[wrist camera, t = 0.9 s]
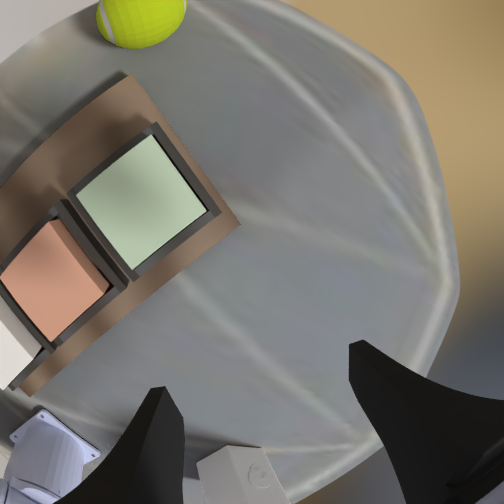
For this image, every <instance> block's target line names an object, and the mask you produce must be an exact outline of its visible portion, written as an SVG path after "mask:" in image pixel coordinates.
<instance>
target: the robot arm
mask: <svg viewBox="0 0 504 504" xmlns="http://www.w3.org/2000/svg"><path fill="white" fill-rule="evenodd" d="M349 381H350V384H351V386H352V389H353V391H354V393H355V396H356V398H357V400H358V402H359V403H360V405H361V407H362V409H363V410H364V412H365V414H366V415H367V417H368V419H369V420H370V422H371V424H372V425H373V427H374V429H375V430H376V432H377V434H378V435H379V437H380V439H381V441H382V442H383V444H384V446H385V448H386V451H387V453H388V455H389V458H390V460H391V462H392V465H393V467H394V470H395V472H396V475H397V477H398V480H399V483H400V486H401V489H402V492H403V495H404V498H405V501H406V504H504V400H496V399H490V398H484V397H479V396H474V395H470V394H467V393H463V392H460V391H457V390H453V389H451V388H448V387H445V386H443V385H440V384H438V383H435V382H433V381H431V380H429V379H427V378H425V377H423V376H421V375H419V374H417V373H415V372H413V371H411V370H410V369H408V368H406V367H405V366H403V365H401V364H400V363H398V362H396V361H395V360H393V359H392V358H390V357H389V356H387V355H386V354H384V353H383V352H381V351H380V350H378V349H377V348H375V347H374V346H372V345H371V344H369V343H368V342H366V341H365V340H360V341H357V342H354V343H351V344H349ZM42 415H43V416H42ZM10 439H11V440H12V441H13V442H14V443H15V445H14V448H13V450H12V453H11V456H10V458H9V461H8V464H7V467H6V470H5V473H4V479H2V478H1V479H0V504H183V493H182V481H183V461H184V443H185V437H184V423H183V417H182V415H181V413H180V412H179V410H178V408H177V406H176V405H175V403H174V401H173V399H172V398H171V396H170V394H169V392H168V391H167V389H166V387H165V386H164V387H156V388H151V389H150V391H149V392H148V394H147V395H146V397H145V399H144V401H143V402H142V404H141V406H140V407H139V409H138V411H137V412H136V414H135V416H134V417H133V419H132V421H131V422H130V424H129V426H128V427H127V429H126V430H125V432H124V433H123V435H122V436H121V438H120V439H119V441H118V442H117V443H116V445H115V446H114V448H113V449H112V450H111V452H110V453H109V454H108V456H107V457H106V458H105V459H104V460H103V461H102V463H101V464H100V465H99V466H98V467H97V468H96V469H95V470H94V471H93V472H92V473H91V474H90V475H89V476H88V477H87V478H86V479H85V480H84V481H83V482H82V483H81V477H82V470H83V465H84V464H86V463H88V462H89V461H91V460H93V459H95V458H97V457H99V456H100V451H99V450H97V449H96V448H94V447H93V446H91V445H90V444H89V443H87V442H86V441H84V440H83V439H82V438H80V437H79V436H78V435H76V434H75V433H74V432H72V431H71V430H70V429H69V428H67V427H66V426H65V425H64V424H62V423H61V422H60V421H59V420H57V419H56V418H55V417H54V416H53V415H52V414H50V413H49V412H48V411H47V410H45V409H41V410H40V411H39V412H38V413H36V414H35V415H34V416H33V417H32V418H30V419H29V420H28V421H27V422H25V423H24V424H23V425H22V426H20V427H19V428H18V429H17V430H16V431H14V432H13V433H12V434H11V435H10Z"/></svg>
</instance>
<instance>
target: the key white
mask: <svg viewBox="0 0 504 504" xmlns="http://www.w3.org/2000/svg"><path fill="white" fill-rule="evenodd" d="M41 347H42V346H41V344H40V343H39V342H38V341H37V340H36V339H35V338H34V337H33V335H32V334H31V333H30V332H29V331H28V330H27V328H26V327H25V326H24V325H23V324H22V322H21V321H20V320H19V319H18V318H17V316H16V315H15V314H14V312H13V311H12V310H11V309H10V307H9V306H8V305H7V303H6V302H5V301H4V299H3V298H2V297H1V295H0V388H1V389H2V390H4V389H5V388H6V386H7V385H8V384H9V383H10V382H11V381H12V380H13V379H14V378H15V377H16V376H17V375H18V374H19V373H20V372H21V371H22V370H23V369H24V368H25V367H26V366H27V365H28V364H29V363H30V362H31V361H32V360H33V359H34V358H35V356H36V354H37V353H38V351H39V350H40V348H41Z"/></svg>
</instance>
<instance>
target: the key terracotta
mask: <svg viewBox="0 0 504 504" xmlns="http://www.w3.org/2000/svg"><path fill="white" fill-rule="evenodd" d="M0 279H1V281H2V282H3V283H4V285H5V286H6V288H7V289H8V290H9V292H10V293H11V294H12V296H13V297H14V298H15V300H16V301H17V302H18V304H19V305H20V306H21V308H22V309H23V310H24V311H25V313H26V314H27V315H28V316H29V318H30V319H31V320H32V321H33V322H34V324H35V325H36V326H37V327H38V328H39V329H40V331H41V332H42V333H43V334H44V335H45V336H46V337H47V338H48V340H49V341H50V342H52V341H53V340H54V339H55V338H56V337H57V336H58V335H59V334H60V333H61V332H62V331H63V330H64V329H65V328H67V327H68V326H69V325H70V324H71V323H72V322H73V321H74V320H75V319H76V318H77V317H79V316H80V315H81V314H82V313H83V312H84V311H85V310H86V309H87V308H89V307H90V306H91V305H92V304H93V303H94V302H95V301H97V300H98V299H99V298H100V297H101V296H102V295H103V294H104V293H105V291H106V289H107V288H108V286H109V284H108V282H107V281H106V280H105V279H104V277H103V276H102V275H101V274H100V273H99V271H98V270H97V269H96V268H95V266H94V265H93V264H92V263H91V261H90V260H89V259H88V257H87V256H86V255H85V254H84V252H83V251H82V250H81V248H80V247H79V246H78V244H77V243H76V242H75V240H74V239H73V238H72V236H71V235H70V233H69V232H68V231H67V229H66V228H65V226H64V225H63V224H62V222H61V221H60V219H57V220H53V221H49V222H48V223H47V224H46V225H45V226H44V227H43V228H42V229H41V230H40V231H39V232H38V233H37V234H36V235H35V236H34V237H33V238H32V240H31V241H30V242H29V243H28V244H27V245H26V246H25V247H24V248H23V250H22V251H21V252H20V253H19V254H18V255H17V256H16V258H15V259H14V260H13V261H12V262H11V263H10V265H9V266H8V267H7V268H6V270H5V271H4V272H3V273H2V275H1V276H0Z"/></svg>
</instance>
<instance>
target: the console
mask: <svg viewBox="0 0 504 504" xmlns="http://www.w3.org/2000/svg"><path fill="white" fill-rule="evenodd" d="M150 135H152V136H153V138H154V139H155V140H156V142H157V143H158V145H159V146H160V147H161V149H162V150H163V151H164V153H165V154H166V156H167V157H168V158H169V160H170V161H171V163H172V164H173V165H174V167H175V168H176V170H177V171H178V172H179V174H180V175H181V176H182V178H183V179H184V181H185V182H186V183H187V185H188V186H189V187H190V189H191V190H192V192H193V193H194V194H195V196H196V197H197V198H198V200H199V201H200V203H201V204H202V205H203V207H204V208H205V209H206V212H205V213H203V214H202V215H201V216H199V217H198V218H197V219H195V220H194V221H193V222H192V223H190V224H189V225H188V226H186V227H185V228H184V229H182V230H181V231H180V232H179V233H177V234H176V235H175V236H174V237H172V238H171V239H170V240H168V241H167V242H166V243H165V244H163V245H162V246H161V247H160V248H158V249H157V250H156V251H155V252H153V253H152V254H151V255H150V256H149V257H147V258H146V259H145V260H144V261H142V262H141V263H140V264H139V265H138V266H136V267H135V268H134V269H133V270H132V269H131V268H130V267H129V266H128V264H127V263H126V262H125V261H124V259H123V258H122V257H121V256H120V254H119V253H118V252H117V251H116V249H115V248H114V247H113V245H112V244H111V243H110V242H109V240H108V239H107V238H106V236H105V235H104V234H103V232H102V231H101V230H100V228H99V227H98V226H97V224H96V223H95V221H94V220H93V219H92V217H91V216H90V215H89V213H88V212H87V210H86V209H85V208H84V206H83V205H82V203H81V202H80V200H79V199H78V198H77V196H76V195H77V194H78V193H79V192H80V191H81V190H82V189H83V188H85V187H86V186H87V185H88V184H89V183H90V182H91V181H93V180H94V179H95V178H96V177H97V176H98V175H100V174H101V173H102V172H103V171H104V170H106V169H107V168H108V167H109V166H111V165H112V164H113V163H114V162H116V161H117V160H118V159H119V158H121V157H122V156H123V155H124V154H126V153H127V152H128V151H130V150H131V149H132V148H134V147H135V146H136V145H138V144H139V143H140V142H142V141H143V140H144V139H146V138H147V137H149V136H150ZM57 219H60V221H61V222H62V224H63V225H64V226H65V228H66V229H67V231H68V232H69V233H70V235H71V236H72V238H73V239H74V240H75V242H76V243H77V244H78V246H79V247H80V248H81V250H82V251H83V252H84V254H85V255H86V256H87V257H88V259H89V260H90V261H91V263H92V264H93V265H94V266H95V268H96V269H97V270H98V271H99V273H100V274H101V275H102V276H103V277H104V279H105V280H106V281H107V282H108V284H109V286H108V288H107V289H106V291H105V293H104V294H103V295H102V296H101V297H100V298H99V299H98V300H97V301H95V302H94V303H93V304H92V305H91V306H90V307H89V308H87V309H86V310H85V311H84V312H83V313H82V314H81V315H80V316H79V317H77V318H76V319H75V320H74V321H73V322H72V323H71V324H70V325H69V326H68V327H67V328H65V329H64V330H63V331H62V332H61V333H60V334H59V335H58V336H57V337H56V338H55V339H54V340H53V341H52V342H50V341H49V340H48V338H47V337H46V336H45V335H44V334H43V333H42V332H41V331H40V329H39V328H38V327H37V326H36V325H35V324H34V322H33V321H32V320H31V319H30V318H29V316H28V315H27V314H26V313H25V311H24V310H23V309H22V308H21V306H20V305H19V304H18V302H17V301H16V300H15V298H14V297H13V296H12V294H11V293H10V292H9V290H8V289H7V288H6V286H5V285H4V283H3V282H2V281H1V279H0V295H1V297H2V298H3V299H4V301H5V302H6V303H7V305H8V306H9V307H10V309H11V310H12V311H13V312H14V314H15V315H16V316H17V318H18V319H19V320H20V321H21V322H22V324H23V325H24V326H25V327H26V328H27V330H28V331H29V332H30V333H31V334H32V335H33V337H34V338H35V339H36V340H37V341H38V342H39V343H40V344H41V346H42V347H41V348H40V350H39V351H38V353H37V354H36V356H35V358H34V359H33V360H32V361H31V362H30V363H29V364H28V365H27V366H26V367H25V368H24V369H23V370H22V371H21V372H20V373H19V374H18V375H17V376H16V377H15V378H14V379H13V380H12V381H11V382H10V383H9V384H8V385H7V386H8V387H9V388H10V389H11V390H12V391H14V390H15V389H16V388H17V387H18V386H19V387H20V388H21V389H22V390H23V391H24V392H25V393H26V394H27V395H28V396H29V397H31V396H32V395H33V394H34V393H35V392H36V391H37V390H39V389H40V388H41V387H42V386H43V385H44V384H45V383H47V382H48V381H49V380H50V379H51V378H52V377H53V376H55V375H56V374H57V373H58V372H59V371H60V370H61V369H63V368H64V367H65V366H66V365H67V364H68V363H70V362H71V361H72V360H73V359H74V358H75V357H77V356H78V355H79V354H80V353H81V352H82V351H84V350H85V349H86V348H87V347H88V346H90V345H91V344H92V343H93V342H94V341H95V340H97V339H98V338H99V337H100V336H101V335H103V334H104V333H105V332H106V331H107V330H109V329H110V328H111V327H112V326H113V325H115V324H116V323H117V322H118V321H119V320H121V319H122V318H123V317H124V316H126V315H127V314H128V313H129V312H130V311H132V310H133V309H134V308H135V307H137V306H138V305H139V304H140V303H141V302H143V301H144V300H145V299H146V298H148V297H149V296H150V295H151V294H153V293H154V292H155V291H156V290H158V289H159V288H160V287H161V286H163V285H164V284H165V283H166V282H168V281H169V280H170V279H171V278H173V277H174V276H175V275H176V274H178V273H179V272H180V271H181V270H183V269H184V268H185V267H187V266H188V265H189V264H190V263H192V262H193V261H194V260H195V259H197V258H198V257H199V256H201V255H202V254H203V253H204V252H206V251H207V250H208V249H210V248H211V247H212V246H213V245H215V244H216V243H217V242H219V241H220V240H221V239H222V238H224V237H225V236H226V235H228V234H229V233H230V232H232V231H233V230H234V229H236V228H237V227H238V226H239V225H241V224H240V222H239V221H238V220H237V218H236V217H235V215H234V214H233V213H232V211H231V210H230V208H229V207H228V206H227V204H226V203H225V201H224V200H223V199H222V197H221V196H220V194H219V193H218V192H217V190H216V189H215V187H214V186H213V185H212V183H211V182H210V180H209V179H208V178H207V176H206V175H205V173H204V172H203V171H202V169H201V168H200V166H199V165H198V164H197V162H196V161H195V159H194V158H193V157H192V155H191V154H190V152H189V151H188V150H187V148H186V147H185V146H184V144H183V143H182V141H181V140H180V139H179V137H178V136H177V134H176V133H175V132H174V130H173V129H172V127H171V126H170V125H169V123H168V122H167V121H166V119H165V118H164V116H163V115H162V114H161V112H160V111H159V109H158V108H157V107H156V105H155V104H154V103H153V101H152V100H151V98H150V97H149V96H148V94H147V93H146V92H145V90H144V89H143V87H142V86H141V85H140V83H139V82H138V81H137V79H136V78H135V76H134V75H133V74H130V75H129V76H127V77H126V78H124V79H123V80H121V81H120V82H118V83H117V84H115V85H114V86H112V87H111V88H109V89H108V90H107V91H105V92H104V93H102V94H101V95H100V96H98V97H97V98H96V99H94V100H93V101H92V102H90V103H89V104H88V105H86V106H85V107H84V108H83V109H81V110H80V111H79V112H78V113H76V114H75V115H74V116H73V117H72V118H70V119H69V120H68V121H67V122H66V123H64V124H63V125H62V126H61V127H60V128H59V129H58V130H56V131H55V132H54V133H53V134H52V135H51V136H50V137H49V138H48V139H47V140H46V141H44V142H43V143H42V144H41V145H40V146H39V147H38V148H37V149H36V150H35V151H34V152H33V153H32V154H31V155H30V156H29V157H28V158H27V159H26V160H25V161H24V162H23V163H22V164H21V165H20V167H19V168H18V169H17V170H16V171H15V172H14V173H13V174H12V175H11V176H10V178H9V179H8V180H7V181H6V182H5V183H4V184H3V186H2V187H1V188H0V276H1V275H2V273H3V272H4V271H5V270H6V268H7V267H8V266H9V265H10V263H11V262H12V261H13V260H14V259H15V258H16V256H17V255H18V254H19V253H20V252H21V251H22V250H23V248H24V247H25V246H26V245H27V244H28V243H29V242H30V241H31V240H32V238H33V237H34V236H35V235H36V234H37V233H38V232H39V231H40V230H41V229H42V228H43V227H44V226H45V225H46V224H47V223H48V222H49V221H53V220H57Z"/></svg>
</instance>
